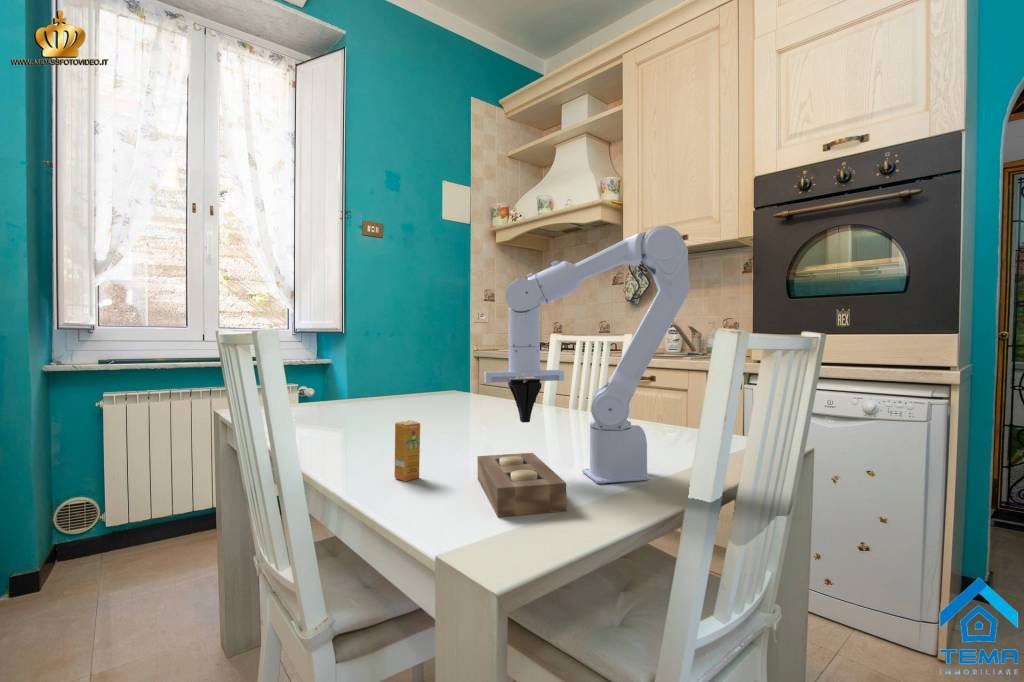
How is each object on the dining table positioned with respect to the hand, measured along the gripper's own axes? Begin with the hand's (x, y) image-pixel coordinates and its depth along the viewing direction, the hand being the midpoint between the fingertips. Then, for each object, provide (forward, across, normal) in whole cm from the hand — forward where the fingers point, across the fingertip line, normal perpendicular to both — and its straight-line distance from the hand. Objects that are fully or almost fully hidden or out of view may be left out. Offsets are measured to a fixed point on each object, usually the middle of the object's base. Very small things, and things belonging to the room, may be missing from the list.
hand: (524, 421), depth 91 cm
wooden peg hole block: (+9, -4, -11) cm, 15 cm away
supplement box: (+10, -21, +2) cm, 23 cm away
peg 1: (+9, -4, -6) cm, 12 cm away
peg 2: (+9, -4, -16) cm, 18 cm away
